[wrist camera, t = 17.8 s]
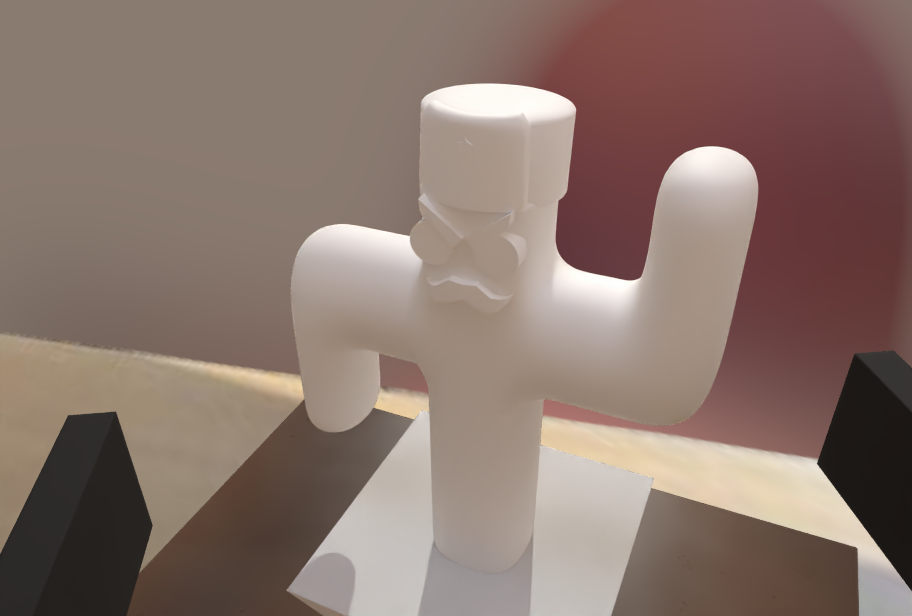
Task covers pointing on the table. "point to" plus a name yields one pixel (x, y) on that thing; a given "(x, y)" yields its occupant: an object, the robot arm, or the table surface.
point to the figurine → (507, 365)
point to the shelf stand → (359, 456)
